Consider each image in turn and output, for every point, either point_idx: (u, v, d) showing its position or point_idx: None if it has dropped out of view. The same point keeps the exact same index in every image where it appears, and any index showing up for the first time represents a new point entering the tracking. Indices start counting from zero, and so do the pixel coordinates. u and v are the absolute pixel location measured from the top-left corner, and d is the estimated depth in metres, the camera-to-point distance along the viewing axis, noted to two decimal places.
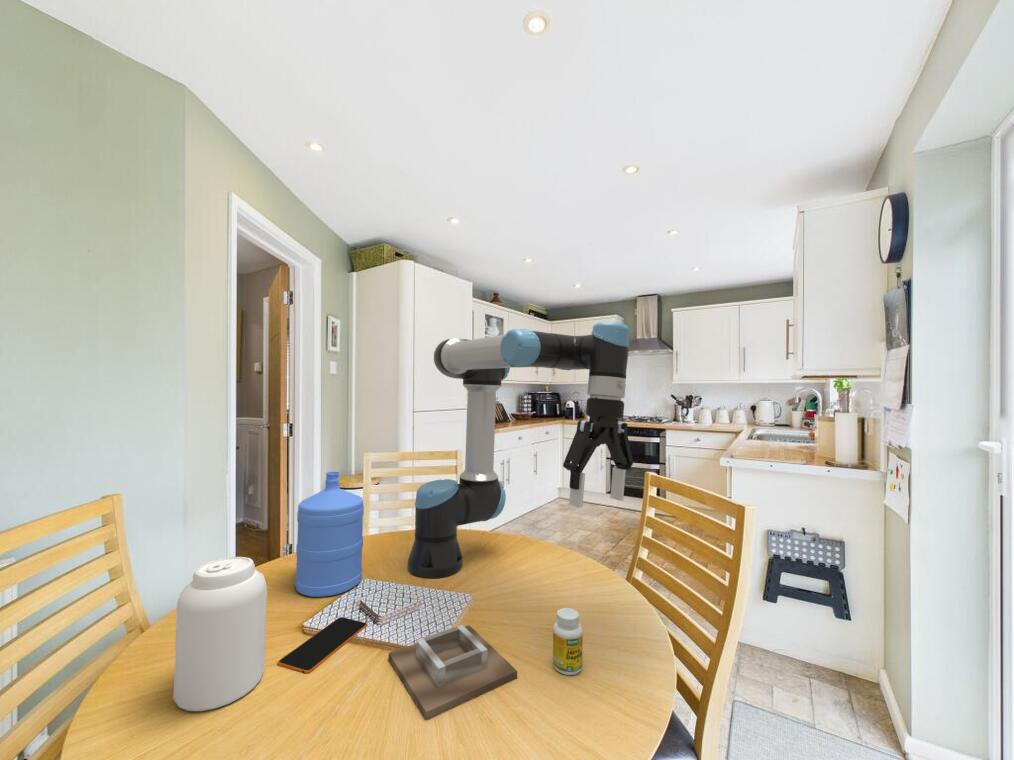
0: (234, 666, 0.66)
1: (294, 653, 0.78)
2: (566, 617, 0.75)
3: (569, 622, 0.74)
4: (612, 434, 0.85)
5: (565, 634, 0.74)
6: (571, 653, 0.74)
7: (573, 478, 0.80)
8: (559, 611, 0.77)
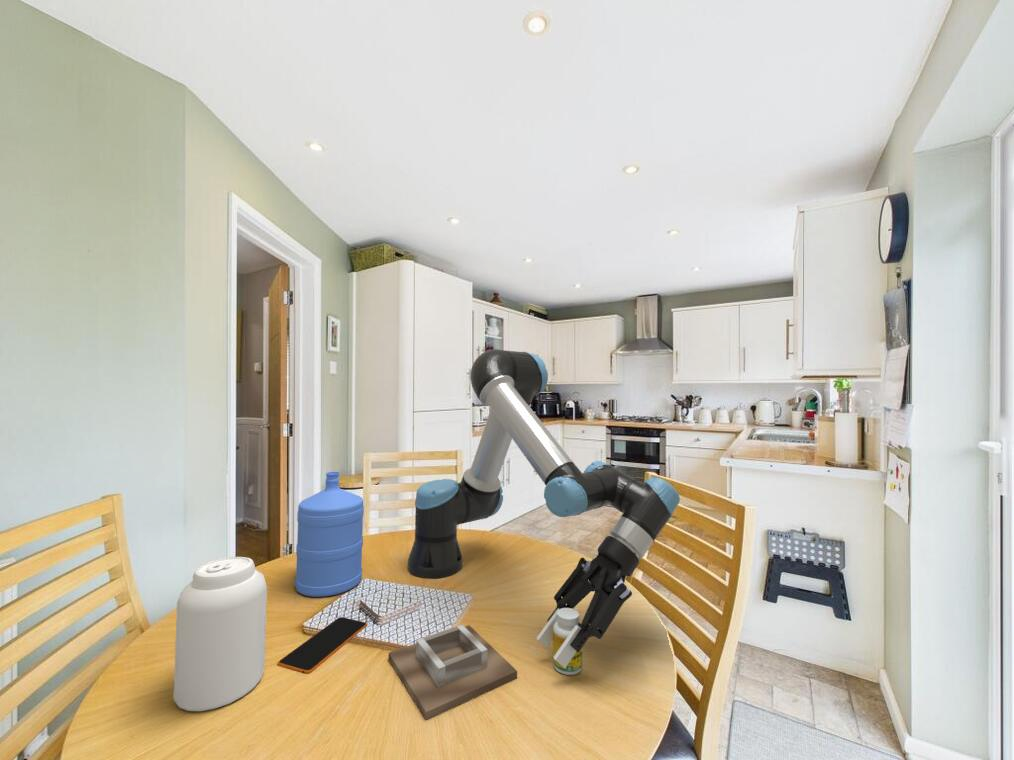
0: (234, 666, 0.66)
1: (294, 654, 0.78)
2: (566, 617, 0.75)
3: (569, 622, 0.74)
4: None
5: (565, 633, 0.74)
6: None
7: (583, 640, 0.72)
8: (559, 611, 0.77)
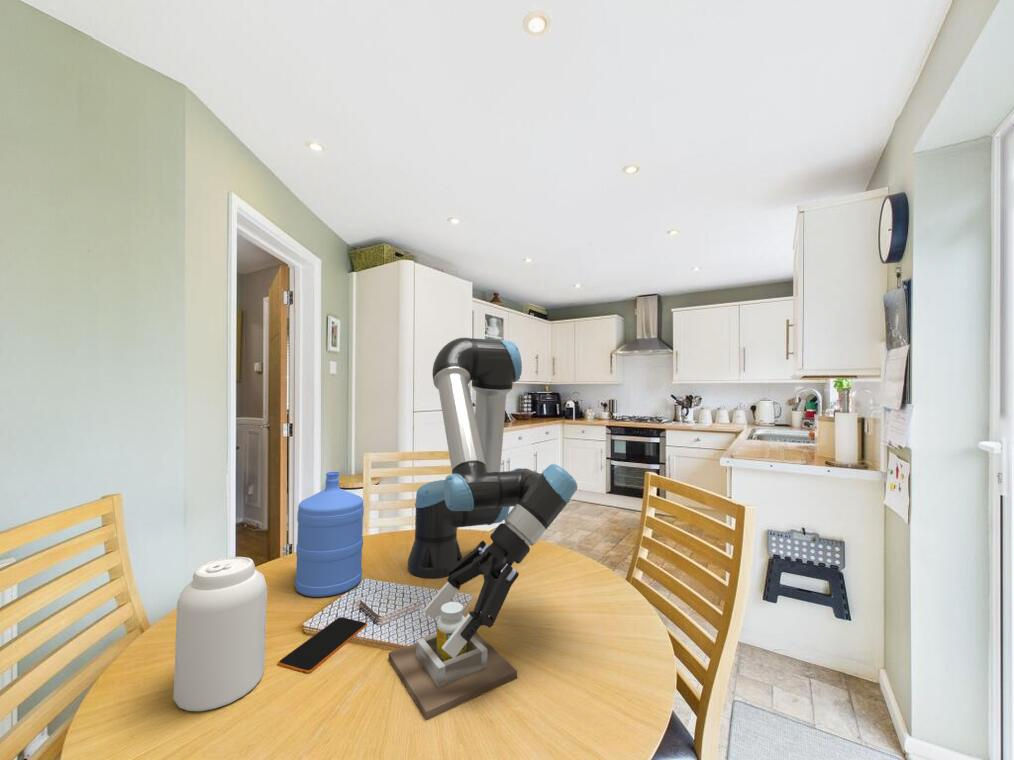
0: (234, 666, 0.66)
1: (294, 654, 0.78)
2: (448, 611, 0.74)
3: (450, 616, 0.73)
4: None
5: (445, 628, 0.73)
6: None
7: (474, 629, 0.69)
8: (444, 605, 0.76)
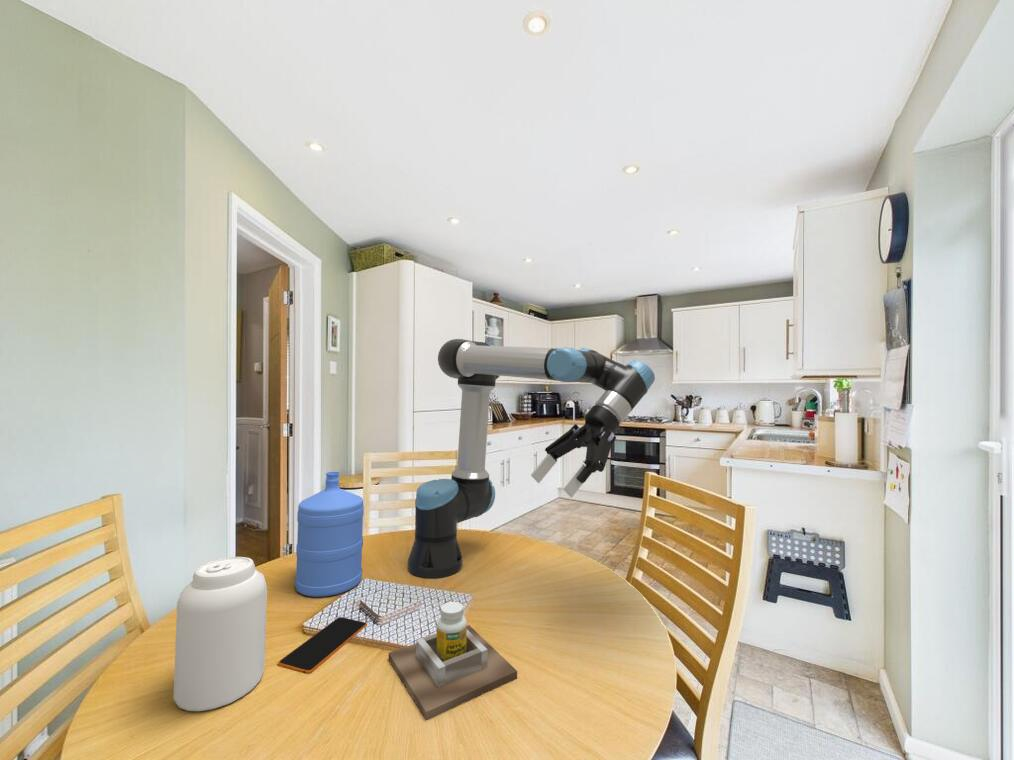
0: (234, 666, 0.66)
1: (294, 654, 0.78)
2: (448, 611, 0.74)
3: (450, 616, 0.73)
4: None
5: (445, 628, 0.73)
6: (451, 647, 0.73)
7: (587, 474, 0.85)
8: (444, 605, 0.76)
